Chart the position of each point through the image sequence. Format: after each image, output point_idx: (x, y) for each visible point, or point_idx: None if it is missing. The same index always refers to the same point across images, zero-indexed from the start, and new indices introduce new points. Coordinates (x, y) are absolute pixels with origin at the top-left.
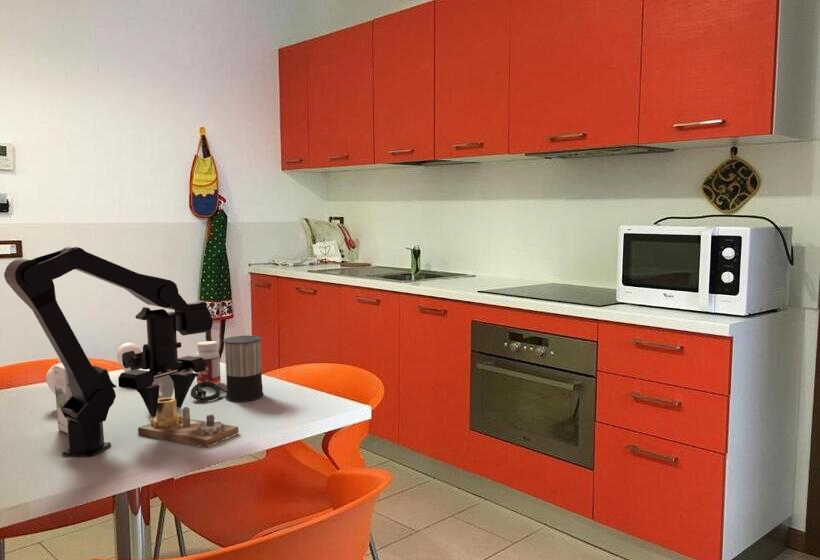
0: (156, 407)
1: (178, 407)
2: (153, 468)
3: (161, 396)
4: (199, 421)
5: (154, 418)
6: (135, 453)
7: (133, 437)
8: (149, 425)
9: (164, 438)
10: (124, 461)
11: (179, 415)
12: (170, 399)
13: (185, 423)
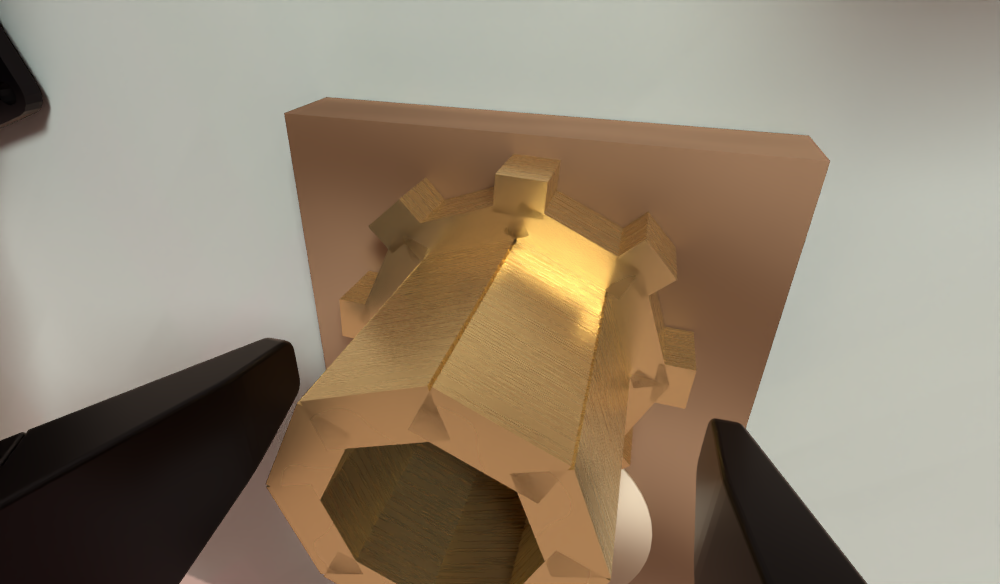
0: (215, 507)
1: (701, 451)
2: None
3: None
4: (679, 543)
5: (429, 232)
6: (122, 369)
7: (260, 114)
8: (391, 185)
9: None
10: (40, 388)
11: (680, 396)
12: (545, 542)
13: None
